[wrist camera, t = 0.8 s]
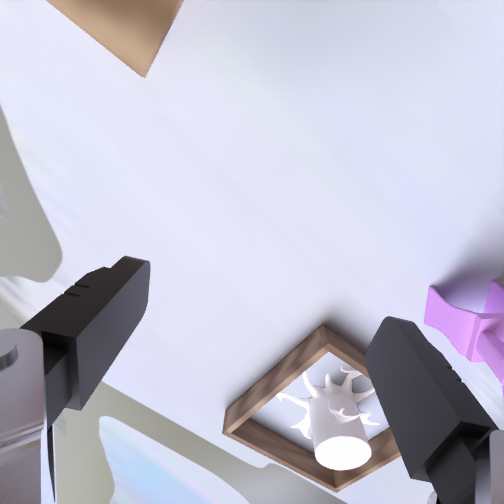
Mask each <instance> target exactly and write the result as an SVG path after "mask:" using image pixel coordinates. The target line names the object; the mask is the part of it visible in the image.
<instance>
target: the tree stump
mask: <svg viewBox="0 0 504 504" xmlns="http://www.w3.org/2000/svg"><path fill="white" fill-rule="evenodd" d="M341 371H342V372H345V373H348V375H347V377H346V379H345V381H344V383H343V385H341V386H338V385H336V384H334V383H333V382H332V381H331V380H330V377H329V374H328V373H327V375H326V378H325V388H319V387H317V386H315V385H313V384H312V383H311V382H310V381H309V380H308V378H307V376H306V372H305V371H304V373H303V378H304V382H305V385H306V386H307V388H308V389H309V391H310V392H311V394H312V397H311V398H308V399H299V398H296V397H294V396H291V395H288V394H285V393H281V392H279V393H278V394H277V396H278V397H279V398H280V401H281V400H282V398H283V397H286V398H289V399H291V400H292V401H294V402H295V403H297V404H299V405H301V406H303V407H305V408H306V409H307V410H308V411H307V413H306V416H305V418H304V420H303V421H302V422H299V423H298V424H297V425H296V426H294V427H291V428H300V429H301V431H302V433H303V435H304V436H305V437H307V438H308V439H311V438H310V437H309V436H308V434H307V432H308V428H309V426H310V425H311V431H312V438H313V444H314V451H315V457H316V459H317V461H318V462H319V463H320V464H321V465H323V466H325V467H327V468H330V469H335V470H346V469H347V470H349V469H353V468H356V467H358V466H359V467H360V466H361V465H363V464H364V463H366V462H367V461H368V459H369V458H370V457H371V448H370V445H369V442H368V439H367V436H366V433H365V430H364V427H363V424H362V423H365V424H370V425H379V424H378V423H374V422H372V421H370V420H369V419H368V416H369V415H370V414H371V412H362V411H359V410H358V409H357V403H358V402H359V401H360V400H362V399H364V398H365V397H367V396H369V395H370V394H372V393H373V392H374V391H375V389H374V388H373V389H371V390H369V391H366V392H362V393H353V392H352V379H353V378H355V377H357V376H360V375H363V374H362V373H361V372H359V371H355V370H343V369H342V367H341Z"/></svg>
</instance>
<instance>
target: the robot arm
mask: <svg viewBox="0 0 504 504" xmlns="http://www.w3.org/2000/svg"><path fill="white" fill-rule="evenodd" d="M149 280H150V262H149V261H146V260H142V259H138V258H133V257H129V256H124V257H122V258H121V259H120V260H119V261H118V262H117V263H116V264H114V265H113V266H112V267H111V268H106V267H102V268H100V269H97V270H95V271H92V272H90V273H87V274H86V275H85V276H83V277H82V278H81V279H80V280H78V281H77V282H76V283H75V285H74V286H73V285H72V286H71V287H70V288H68V289H67V290H66V291H65V292H64V294H61V295H60V296H59V297H57V298H56V299H55V300H54V301H52V302H51V303H50V304H49V305H47V306H46V307H45V308H44V309H43V310H41V311H40V312H39V313H38V314H36V315H35V316H34V317H33V318H31V319H30V320H29V321H28V322H26V323H25V324H24V325H23V326H21V327H20V328H19V329H16V328H15V329H3V330H0V504H57V493H56V492H57V490H56V467H55V445H54V444H55V443H54V424H53V423H54V421H55V420H56V419H57V417H58V416H59V415H60V413H61V412H62V410H63V409H64V408H70V409H75V410H80V411H81V410H82V408H83V407H84V405H85V404H86V402H87V401H88V399H89V398H90V396H91V395H92V393H93V392H94V390H95V388H96V387H97V385H98V384H99V382H100V381H101V379H102V378H103V376H104V375H105V373H106V372H107V370H108V369H109V367H110V366H111V364H112V363H113V361H114V360H115V358H116V357H117V355H118V354H119V352H120V351H121V349H122V348H123V346H124V345H125V343H126V342H127V340H128V339H129V337H130V336H131V334H132V333H133V331H134V330H135V328H136V327H137V325H138V324H139V322H140V321H141V319H142V317H143V315H144V313H145V310H146V307H147V303H148V292H149ZM365 365H366V369H367V372H368V374H369V377H370V379H371V382H372V384H373V386H374V389H375V391H376V394H377V396H378V399H379V401H380V404H381V406H382V409H383V411H384V414H385V416H386V419H387V421H388V424H389V426H390V429H391V431H392V434H393V436H394V439H395V441H396V444H397V446H398V449H399V451H400V454H401V456H402V459H403V461H404V464H405V466H406V469H407V471H408V474H409V476H410V478H411V479H416V480H421V481H426V482H431V483H432V485H433V487H434V490H435V491H434V492H433V493H432V494H431V495H430V496H429V499H428V503H427V504H504V431H503V430H499V428H498V427H497V426H496V424H495V423H494V422H493V420H492V419H491V418H490V416H489V415H488V414H487V412H486V411H485V410H484V408H483V407H482V406H481V405H480V403H479V402H478V401H477V399H476V398H475V397H474V395H473V394H472V393H471V391H470V390H469V389H468V387H467V386H466V385H465V384H464V383H462V382H461V378H460V377H459V376H458V374H457V373H456V372H455V370H452V366H451V365H450V364H449V362H448V361H447V360H446V359H445V357H444V356H443V355H442V353H441V352H440V351H438V350H437V349H436V348H435V347H434V346H433V345H432V344H430V343H429V342H428V340H427V339H426V338H425V336H424V335H423V334H422V332H421V331H420V330H419V328H418V327H417V326H416V324H415V323H414V322H412V321H408V320H404V319H399V318H395V317H390V316H388V317H386V318H385V319H384V320H383V321H382V323H381V325H380V327H379V329H378V330H377V332H376V334H375V336H374V338H373V340H372V341H371V343H370V345H369V347H368V349H367V351H366V355H365Z"/></svg>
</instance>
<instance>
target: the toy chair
mask: <svg viewBox="0 0 504 504" xmlns="http://www.w3.org/2000/svg"><path fill="white" fill-rule="evenodd" d="M424 324H426V325H429V326H431V327H434V328H436V329H437V330H439V331H440V332H442V333H443V334H444V335H445V336H446V337H447V338H448V340H449V341H450V342H451V344H452V345H453V346H454V348H455V349H456V350H457V351H458V352H459V353H460V354H461V355H463V356H465V357H466V358H467V359H468V360H469V361H470V362H484V361H485V362H486V363H487V365H488V366H489V367H490V369H491V370H492V371H493V373H494V374H495V375H496V377H497V378H498V379H499V381H500V382H501V383H502V385H503V396H504V288H502V287H501V286H500V285H499V284H498V283H497V282H496V281H492V282H491V286H490V290H489V293H488V297H487V301H486V305H485V309H484V313H475V312H472V311H469V310H465V309H460V308H457V307H455V306H453V305H451V304H449V303H448V302H447V301H446V300H444V299H443V298H442V297H441V296H440V294H439V293H438V292H437V291H436V290H435V289H434V288H433V286H429V290H428V297H427V303H426V310H425V316H424Z"/></svg>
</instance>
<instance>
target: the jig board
mask: <svg viewBox="0 0 504 504" xmlns="http://www.w3.org/2000/svg"><path fill="white" fill-rule="evenodd" d="M46 1H48V2H49V3H50V4H51V5H53V6H54V7H55V8H56V9H58V10H59V11H60V12H61V13H63V14H64V15H65V16H66V17H68V18H69V19H70V20H71V21H73V22H74V23H75V24H76V25H78V26H79V27H80V28H81V29H83V30H84V31H85V32H86V33H88V34H89V35H90V36H91V37H93V38H94V39H95V40H96V41H97V42H99V43H100V44H101V45H102V46H104V47H105V48H106V49H107V50H109V51H110V52H111V53H112V54H114V55H115V56H116V57H117V58H119V59H120V60H121V61H122V62H124V63H125V64H126V65H127V66H129V67H130V68H131V69H132V70H134V71H135V72H136V73H137V74H139V75H140V76H141V77H144V78H145V76H146V74H147V72H148V70H149V68H150V66H151V64H152V62H153V60H154V58H155V56H156V54H157V52H158V50H159V48H160V46H161V44H162V42H163V40H164V39H165V37H166V35H167V33H168V31H169V29H170V27H171V25H172V23H173V21H174V19H175V17H176V15H177V13H178V11H179V9H180V7H181V5H182V3H183V1H184V0H46Z"/></svg>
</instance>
